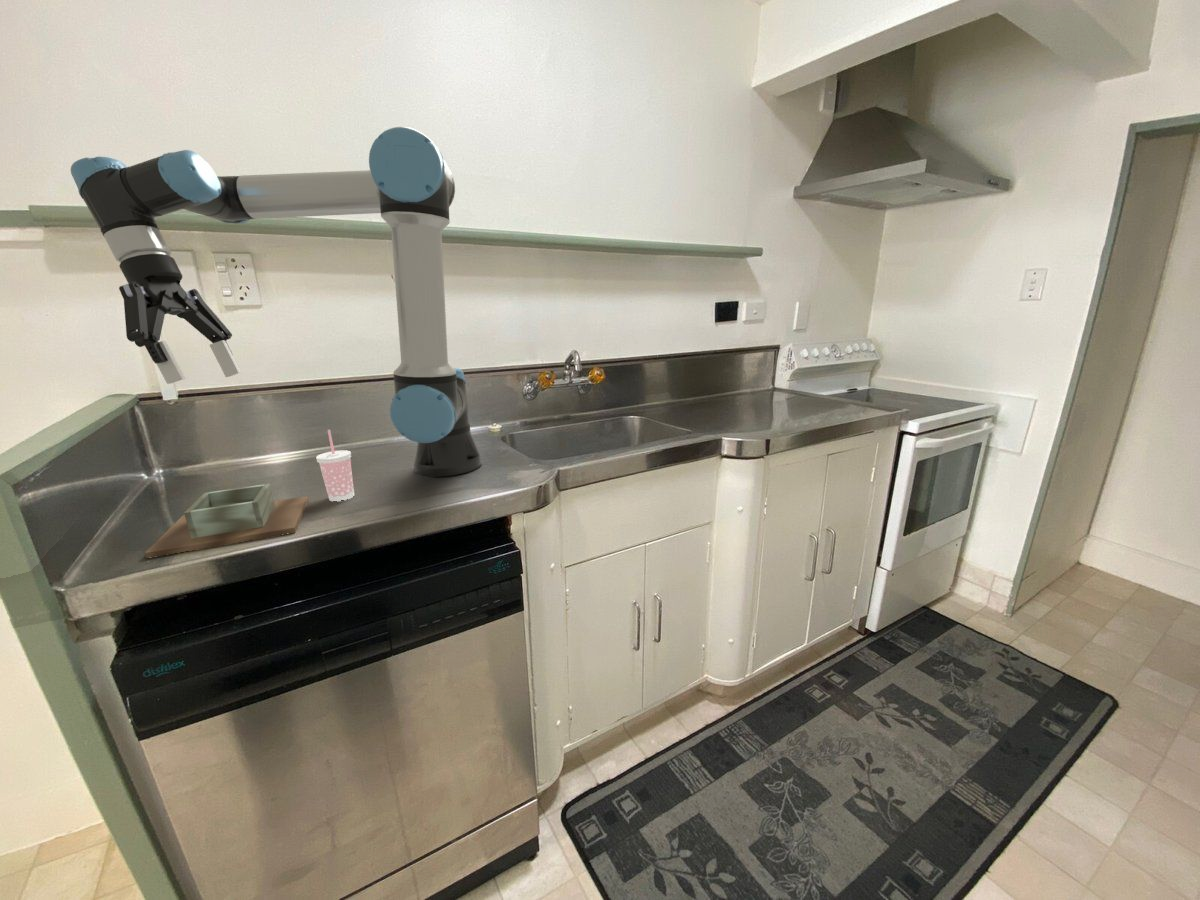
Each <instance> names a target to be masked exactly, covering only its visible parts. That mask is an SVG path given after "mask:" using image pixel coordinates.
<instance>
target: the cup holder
mask: <svg viewBox="0 0 1200 900" xmlns="http://www.w3.org/2000/svg"><path fill="white" fill-rule="evenodd" d="M274 499H275V498H274V496H273V490H272V486H271V483H265V484H258V485H251V486H244V487H237V488H236V487H235V488H229V489H222V490H215V491H207V492H203V494H202V495H200V497H198V498H197V500H195V501H194V502H193V504H192V505H190V507H188V508H187V510H185V512H183V515H181V516H180V518H179V519H178V520H176V521H175V522H174V523H173V524H172V525H171V527H169V528H168V530H167V531H166V532H165V533H163V535H162V536H160V537H159V538H158V539H157V540H156V541H155V542H154V543H153V545H151V546H150V547H149V548H148V549H147V550H146V551H145V552H144V555H145V558H149V557H155V556H161V557H163V556H162V555H167V554H173V555H175V554H174V553H178V554H181V553H180V552H184V553H186V552H185V551H190V552H193V551H192V550H195V551H198V550H197V549H201V550H205V549H204V548H207V549H211V548H210V547H212V548H217V547H216V546H218V547H223V546H222V545H224V546H228V545H227V544H229V545H233V544H232V543H235V544H240V543H239V542H241V543H245V542H244V541H247V542H250V541H249V540H252V541H257V539H258V540H262V539H263V538H264V539H268V538H267V537H269V538H274V537H273V536H275V537H279V536H278V535H281V536H283V535H282V534H286V535H288V534H287V533H292V534H294V533H293V532H296V533H297V531H296V530H298V528H299V526H298V525H300V523H301V521H302V518H303V515H304V513H305V511H306V509H305V508H307V505H308V503H309V496H308V495H306V496H301V497H292V498H285V499H280V500H274ZM300 520H301V521H300ZM297 527H298V528H297ZM264 539H263V540H264ZM167 556H168V555H167Z"/></svg>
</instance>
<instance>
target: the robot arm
mask: <svg viewBox="0 0 1200 900" xmlns="http://www.w3.org/2000/svg"><path fill="white" fill-rule="evenodd" d="M369 149H370V150H369V153H368V165H369V170H367V169H366V170H347V171H345V170H343V171H322V172H318V171H317V172H299V173H298V172H297V173H296V172H295V173H294V172H293V173H274V174H273V173H270V174H252V175H250V174H249V175H246V174H245V175H230V176H229V175H226V176H221V175H220V176H219V175H217V174H216V172H215V171H214V169H213V168H212V166H211V165H210V164H209V163H208V161H206V160H205V159H203V158H202V156H201V155H200V154H198V153H197V152H195V151H193V150H189V149H184V150H183V149H182V150H179V151H178V150H177V151H174V152H167V153H163V154H162V155H160V156H156V157H154V158H152V159H149V160H144V161H142V162H140V163H135V164H133V165H131V166H127V165H126V164H125V163H123V162H122V161H120V160H118V159H116V158H112V157H109V156H107V157H106V156H94V157H87V156H86V157H83V158H80V159H77V160H76V161H74V162H73V163H72V164H71V166H70V173H71V174H70V175H71V176H72V179H73V180H74V183H75V185H76V187H77V189H78V194H79V196H80V197H81V199H82V200H83V202H84V203H85V205H86V206H87V209H88V210H89V212H90V214H91V215H92V217H93V219H94V220H95V223H96V224H97V225H98V228H99V230H100V233H101V234H102V236H103V237H104V239H105V241H106V243H107V245H108V247H109V248H110V251H111V253H112V254H113V257H114V258H115V260H116V262H118V263H119V269H120V271H121V272H122V274H123V276H124V278H125V280H126V282H127V283H126V284H123V285H121V286H119V287H118V290H119V292H120V294H121V296H122V298H123V306H124V320H125V322H124V323H125V335H126V338H127V340H128V341H129V342H131V343H133V342H134V343H135V345H136V346H137V347H139V348H142V347H145V349H146V351H147V352H148V355H149V356H150V357H151V360H152V362H154V364H155V365H156V366H157V367H158V369H159V371H160V373H161V375H162V377H163V378H164V381H165V383H166V384H167V385H169V384H170V385H171V384H174V383H177V382H180V381H181V380H185V379H186V376H185V375H184V372H183V371H182V369H181V367H180V365H179V363H178V361H177V359H176V357H175V356H174V354H173V353H172V350H171V348H170V346H169V344H168V343H167V340H161V336H162V335H161V334H162V329H163V325H164V322H165V321H164V320H165V317H166V315H170V316H177V318H180V319H184V321H186V322H187V323H188V324H190V325H191V326H192V328H194V329H195V330H196V331H198V332H199V333H200V334H201V335H202V336H204V337H205V338H206V339H207V340H208V341H210V342H211V343H210V344H209V347H210V349H211V351H212V353H213V354H214V357H215V360H216V361H217V363H218V364H219V365H218V366H219V367H220V368H221V371H222V372H223V375H224V376H225V378H229V377H233V376H235V375H238V374H241V373H242V372H241V369H240V367H239V365H238V363H237V361H236V359H235V357H234V355H233V352H232V350H231V348H230V346H229V344H228V342H227V341H228V340H231V338H232V336H233V334H232V332H231V330H230V329H228V327H227V326H226V324H224V323H223V322H222V320H221V319H220V318H219V317H218V315H217V314H216V313H215V312H214V311H213V310H212V309H211V307H210V306H209V305H208V304H207V303H206V302H205V301H204V299H203V298H202V295H201V294H200V292H199V290H197V289H196V288H192V289H190V290H185V289H184V288H183V287H182V286H181V284H180V282H181V281H182V279H183V274H182V272H181V270H180V268H179V267H178V264H177V262H176V260H175V258H173V257H172V256H171V255H172V252H171V249H170V248H169V246H168V244H167V242H166V240H165V238H164V236H163V234H162V233H161V231H160V229H159V227H158V224H157V222H156V220H155V218H157V217H162V216H165V215H168V214H172V213H174V212H178V211H182V210H184V211H188V212H192V213H195V214H199V215H203V216H205V217H209V218H212V219H214V220H215V219H216V220H218V221H219V222H223V223H226V224H235V225H236V224H237V225H238V224H239V225H240V224H245V223H247V222H249V221H250V220H256V219H259V220H260V219H282V218H283V219H284V218H303V217H306V218H307V217H319V216H320V217H324V216H346V215H363V214H364V215H367V214H371V215H372V214H380V217H381V218H382V219H383V221H384V222H385V223H386V224H387V225H388V226H389V227H390V229H391V245H392V259H393V269H394V271H393V272H394V281H395V282H394V283H395V285H394V286H395V297H396V309H397V310H396V311H397V323H398V338H399V351H400V363H399V365H398V366H397V368H396V369H394V371H393V386H394V396H393V397H392V399H391V403H390V407H389V417H390V420H391V421H390V422H391V424H392V425H393V427H394V428H395V430H396V431H397V432H398V434H400V435H401V436H402V437H404V438H405V439H407V440H409V441H412V442H413V443H417V444H416V449H415V454H414V459H413V466H414V472H415V474H417V475H419V476H422V477H430V478H431V477H433V478H435V477H436V478H439V477H441V478H442V477H451V476H457V475H461V474H465V473H469V472H472V471H475V470H476V469H478V468H479V467H480V466H481V465H482V455H481V451H480V450H479V447H478V445H477V443H476V441H475V439H474V437H473V434H472V432H471V424H470V423H471V422H470V415H469V406H468V397H467V387H466V384H467V380H466V379H465V378H466V377H465V374H464V371H463V370H462V369H461V368H457V367H456V368H455V367H452V366H451V365H450V363H449V360H448V359H449V357H448V339H447V336H448V335H447V322H446V321H447V318H446V316H447V315H446V298H445V277H444V275H445V274H444V255H443V237H442V235H443V234H442V233H443V231H444V230H445V228H446V227H448V225H449V224H451V223H450V206H452V203H453V201H454V198H455V194H456V182H455V179H454V176H453V173H452V170H451V168H450V167H449V166H448V164H447V163H446V161H445V159H444V157H443V153H442V152H441V150H440V148H439V147H438V146H437V145H436V143H435V142H434V141H433V140H432V139H430V138H429V137H428V136H427V135H426V134H424V133H422V132H421V131H419V130H417V129H414V128H412V127H407V126H396V127H391V128H388V129H386V130H384V131H383V132H382V133H380V134H379V135H378V137H376V138H375V139H374V141H373V142H372V144H371V147H370V148H369ZM160 340H161V341H160Z"/></svg>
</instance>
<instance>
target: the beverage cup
mask: <svg viewBox="0 0 1200 900" xmlns="http://www.w3.org/2000/svg"><path fill="white" fill-rule="evenodd" d="M327 434H328V440H329V445H330V449H331V451H327V452H324V453H323V452H322V453H321V454H318V455H317V456H316V457H315V458H316V463H317V464H318V463H319V467H320V471H321V476H322V478H323V482H324V485H325V489H326V490H325V491H326V493H327V496H328V500H329V501H331V502H333V501H337V502H342V501H341V500H344V501H348V500H351V499H352V498H354V497H355V487H354V479H353V478H354V477H353V471H352V470H353V469H352V459H351V458H352V452H351V451H350V450H346V449H345V450H344V449H343V450H335V448H334V443H333V442H334V441H333V438H332V433H331V429H327ZM353 496H354V497H353ZM347 499H348V500H347Z"/></svg>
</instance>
